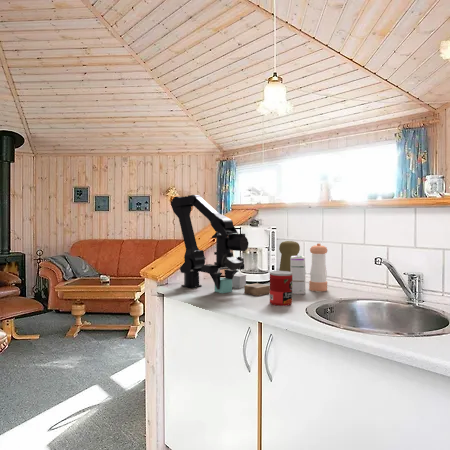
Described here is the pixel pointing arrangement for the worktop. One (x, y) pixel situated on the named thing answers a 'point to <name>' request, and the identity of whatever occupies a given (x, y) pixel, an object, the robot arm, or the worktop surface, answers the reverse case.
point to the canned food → (281, 288)
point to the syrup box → (298, 274)
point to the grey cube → (238, 281)
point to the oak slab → (256, 289)
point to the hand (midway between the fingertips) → (223, 288)
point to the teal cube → (224, 285)
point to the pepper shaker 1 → (287, 254)
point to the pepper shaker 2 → (318, 269)
